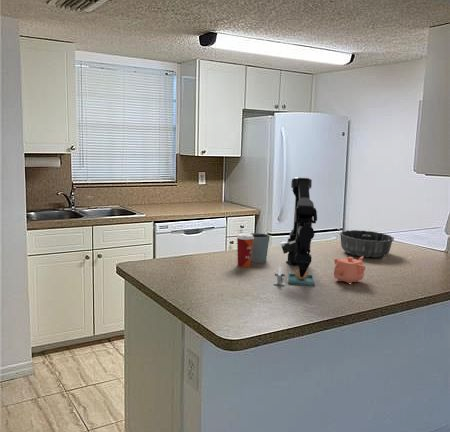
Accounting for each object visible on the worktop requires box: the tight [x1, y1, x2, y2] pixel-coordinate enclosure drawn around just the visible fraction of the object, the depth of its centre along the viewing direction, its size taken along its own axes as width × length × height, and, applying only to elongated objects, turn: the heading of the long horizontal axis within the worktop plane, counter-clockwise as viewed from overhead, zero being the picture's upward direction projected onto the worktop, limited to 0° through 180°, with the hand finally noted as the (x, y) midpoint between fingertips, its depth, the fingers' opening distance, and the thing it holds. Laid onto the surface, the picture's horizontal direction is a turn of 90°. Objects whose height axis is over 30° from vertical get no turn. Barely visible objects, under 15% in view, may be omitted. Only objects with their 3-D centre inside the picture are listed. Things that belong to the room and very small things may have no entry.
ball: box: [294, 267, 309, 280], centre depth 191 cm, size 5×5×5 cm
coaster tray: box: [287, 272, 316, 286], centre depth 192 cm, size 10×10×2 cm
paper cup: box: [236, 233, 254, 268], centre depth 211 cm, size 8×8×14 cm
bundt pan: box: [339, 229, 395, 258], centre depth 242 cm, size 26×26×10 cm
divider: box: [273, 264, 286, 287], centre depth 192 cm, size 16×4×4 cm, turn 172°
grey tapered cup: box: [250, 232, 271, 264], centre depth 222 cm, size 10×10×12 cm
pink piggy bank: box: [333, 256, 366, 284], centre depth 193 cm, size 14×12×10 cm
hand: (301, 273), depth 191 cm, fingers open, 9 cm apart
